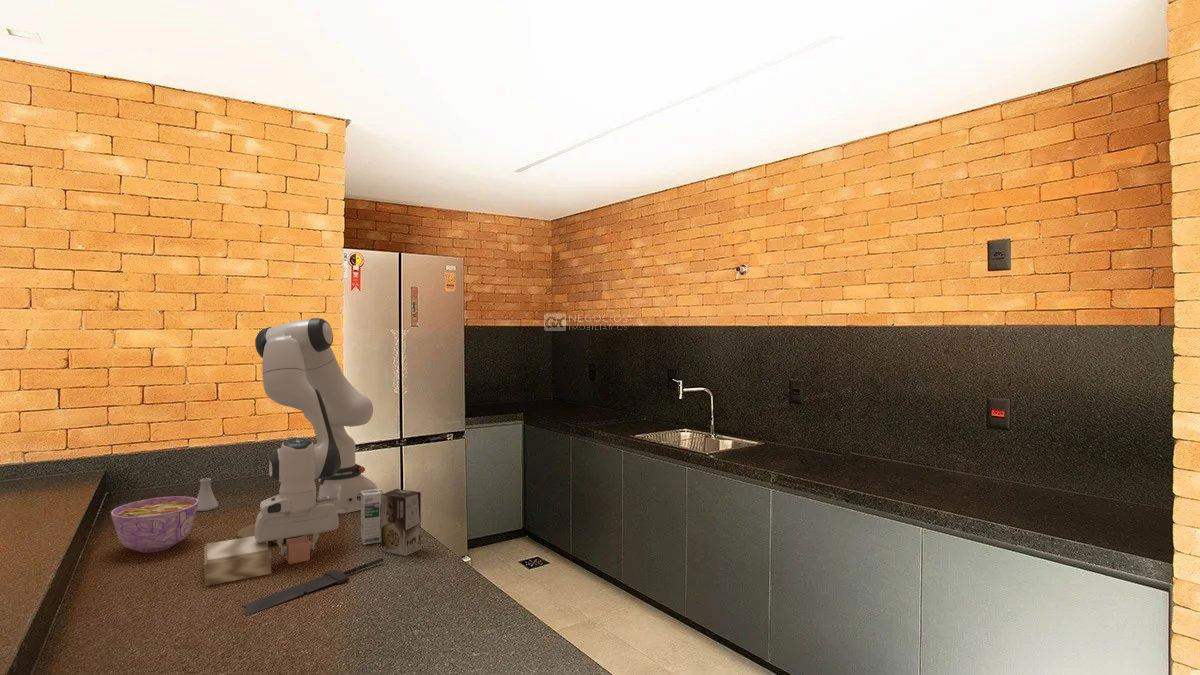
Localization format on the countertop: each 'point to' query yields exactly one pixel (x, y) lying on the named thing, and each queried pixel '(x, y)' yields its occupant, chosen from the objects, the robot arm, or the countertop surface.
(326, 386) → the robot arm
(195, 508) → the bowl of food
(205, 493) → the flask
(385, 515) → the brown printed carton
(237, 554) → the cream square block
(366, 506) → the syrup box
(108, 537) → the countertop surface
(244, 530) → the brown flat disc
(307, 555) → the terracotta cube
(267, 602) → the flat dark sword
